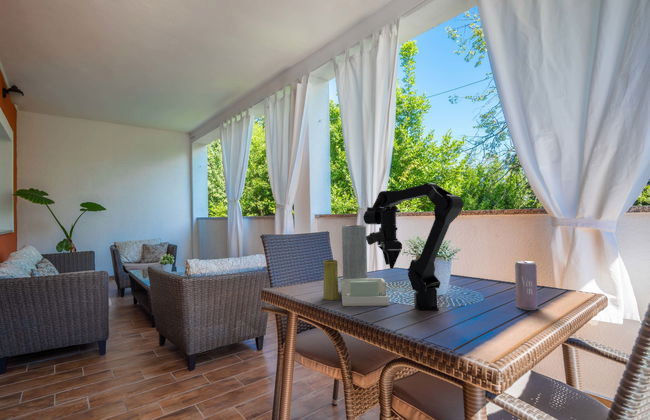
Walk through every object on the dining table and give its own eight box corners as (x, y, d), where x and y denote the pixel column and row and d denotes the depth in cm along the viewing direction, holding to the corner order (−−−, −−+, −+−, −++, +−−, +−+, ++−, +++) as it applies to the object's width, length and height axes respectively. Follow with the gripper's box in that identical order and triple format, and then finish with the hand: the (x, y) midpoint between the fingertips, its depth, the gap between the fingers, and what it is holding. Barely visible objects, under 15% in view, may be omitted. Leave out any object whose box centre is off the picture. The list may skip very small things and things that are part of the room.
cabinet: (382, 296, 125) (382, 278, 125) (388, 305, 112) (388, 285, 112) (341, 296, 126) (341, 278, 126) (342, 305, 113) (342, 286, 113)
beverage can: (536, 306, 107) (534, 261, 108) (539, 311, 102) (537, 263, 102) (515, 304, 110) (513, 260, 110) (517, 309, 104) (515, 262, 105)
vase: (337, 300, 120) (337, 261, 120) (321, 300, 121) (320, 261, 121) (340, 296, 126) (339, 259, 126) (324, 296, 127) (324, 259, 127)
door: (377, 300, 116) (376, 280, 116) (378, 301, 114) (377, 281, 114) (350, 300, 116) (350, 281, 116) (351, 302, 114) (350, 282, 114)
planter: (338, 292, 133) (337, 226, 133) (351, 287, 141) (349, 225, 142) (360, 295, 127) (358, 226, 128) (371, 290, 135) (370, 225, 136)
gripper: (364, 224, 131) (365, 263, 131) (369, 225, 112) (370, 271, 112) (392, 223, 131) (392, 262, 130) (401, 225, 112) (403, 270, 112)
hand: (389, 266), depth 121 cm, fingers open, 9 cm apart
